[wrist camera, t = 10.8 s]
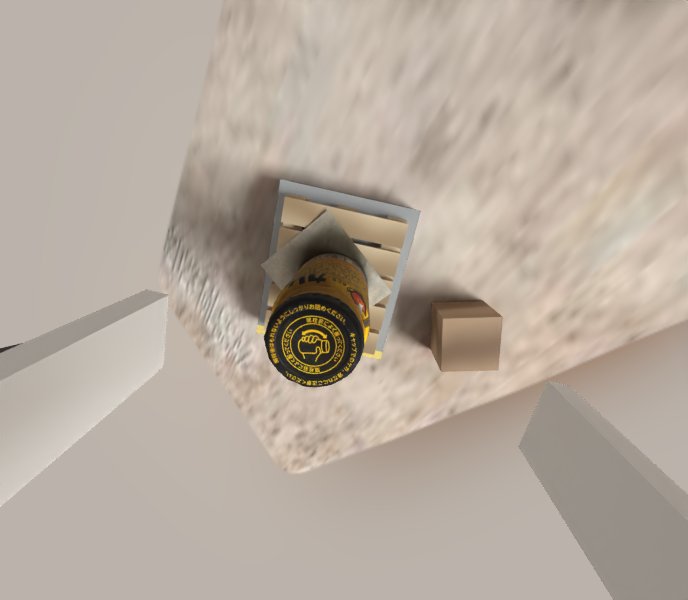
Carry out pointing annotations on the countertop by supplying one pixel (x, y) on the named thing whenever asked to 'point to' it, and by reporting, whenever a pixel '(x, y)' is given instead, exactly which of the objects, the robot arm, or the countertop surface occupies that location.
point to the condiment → (320, 304)
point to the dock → (362, 207)
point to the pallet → (359, 227)
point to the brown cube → (465, 336)
